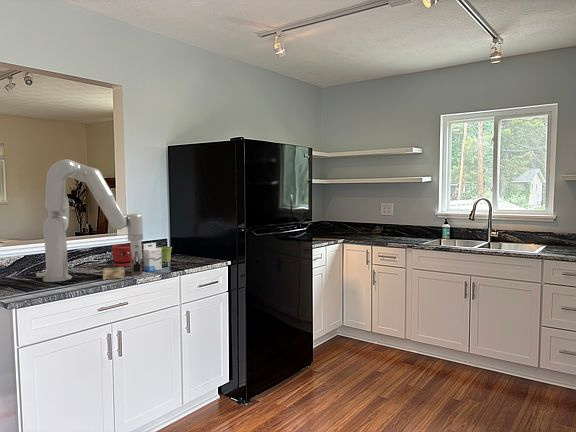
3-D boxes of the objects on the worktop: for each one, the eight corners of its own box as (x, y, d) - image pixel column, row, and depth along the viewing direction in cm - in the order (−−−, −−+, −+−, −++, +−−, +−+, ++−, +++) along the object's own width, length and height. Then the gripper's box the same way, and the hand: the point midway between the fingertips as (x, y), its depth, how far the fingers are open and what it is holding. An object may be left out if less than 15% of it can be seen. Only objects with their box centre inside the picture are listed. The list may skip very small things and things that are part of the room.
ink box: (149, 272, 235) (148, 244, 234) (143, 271, 237) (142, 244, 236) (162, 269, 242) (161, 242, 240) (156, 268, 244) (155, 242, 243)
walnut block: (131, 275, 225) (131, 262, 225) (131, 273, 230) (130, 260, 230) (141, 274, 227) (141, 261, 227) (141, 273, 232) (140, 260, 231)
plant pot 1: (131, 267, 247) (130, 246, 246) (108, 267, 247) (107, 246, 246) (139, 263, 260) (139, 243, 259) (117, 263, 260) (117, 243, 259)
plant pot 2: (153, 262, 265) (152, 247, 264) (165, 259, 272) (165, 246, 272) (163, 263, 259) (163, 249, 259) (175, 261, 267) (175, 247, 267)
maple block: (103, 279, 215) (102, 271, 215) (103, 276, 225) (103, 268, 224) (124, 278, 219) (124, 270, 219) (124, 274, 228) (123, 266, 228)
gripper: (144, 239, 221) (145, 272, 222) (141, 235, 237) (143, 266, 238) (128, 239, 218) (129, 273, 219) (127, 236, 234) (128, 267, 235)
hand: (136, 270), depth 229 cm, fingers open, 9 cm apart
